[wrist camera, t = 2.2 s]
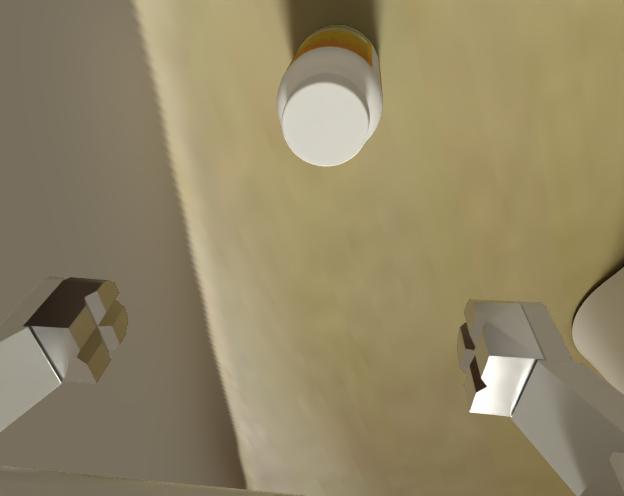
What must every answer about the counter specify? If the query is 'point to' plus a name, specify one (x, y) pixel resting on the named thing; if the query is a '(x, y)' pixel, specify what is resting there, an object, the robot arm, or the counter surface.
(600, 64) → the counter surface
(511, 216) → the counter surface
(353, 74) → the supplement bottle
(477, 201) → the counter surface
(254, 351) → the counter surface
